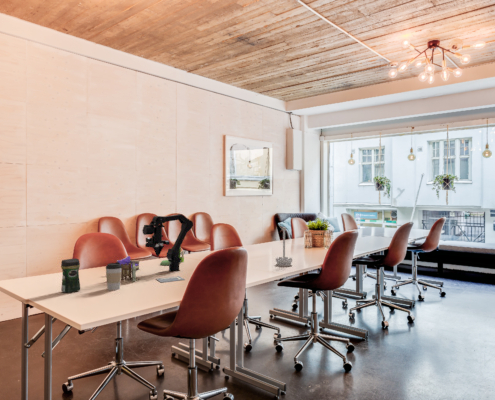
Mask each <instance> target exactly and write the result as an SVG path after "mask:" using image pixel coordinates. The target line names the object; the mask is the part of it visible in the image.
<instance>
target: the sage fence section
mask: <svg viewBox="0 0 495 400" xmlns="http://www.w3.org/2000/svg"><path fill="white" fill-rule="evenodd" d="M136 272H137V270H136V266H135V263H132V271H131V279H132V282H136V276H137V275H136Z"/></svg>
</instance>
